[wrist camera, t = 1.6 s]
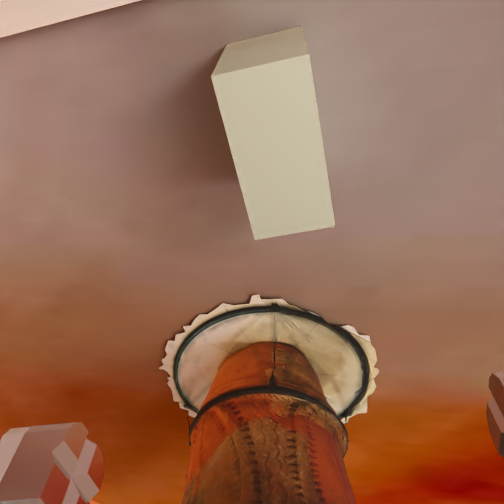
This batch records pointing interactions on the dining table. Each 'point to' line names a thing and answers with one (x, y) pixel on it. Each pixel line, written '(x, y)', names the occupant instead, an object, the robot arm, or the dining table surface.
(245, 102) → the key block
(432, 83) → the dining table surface
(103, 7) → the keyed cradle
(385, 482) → the dining table surface
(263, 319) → the decorative vase
